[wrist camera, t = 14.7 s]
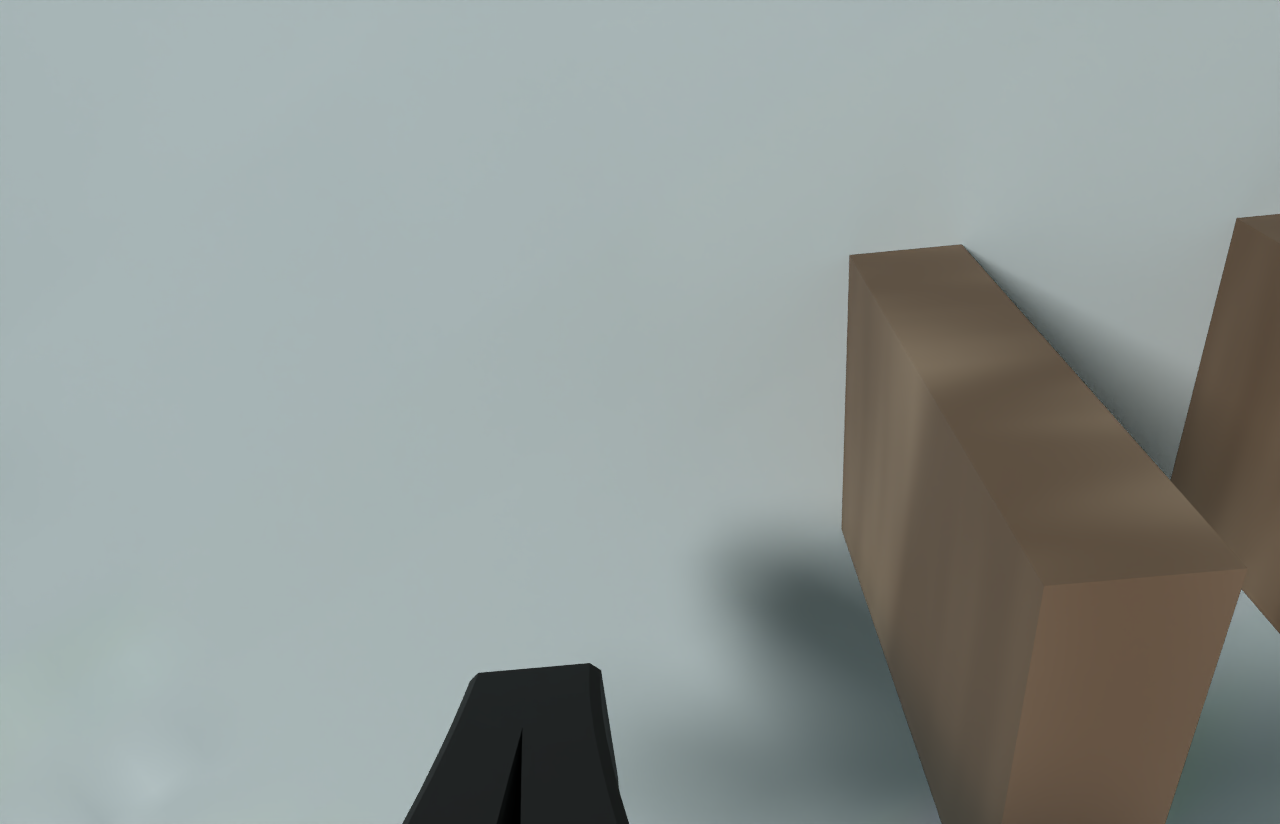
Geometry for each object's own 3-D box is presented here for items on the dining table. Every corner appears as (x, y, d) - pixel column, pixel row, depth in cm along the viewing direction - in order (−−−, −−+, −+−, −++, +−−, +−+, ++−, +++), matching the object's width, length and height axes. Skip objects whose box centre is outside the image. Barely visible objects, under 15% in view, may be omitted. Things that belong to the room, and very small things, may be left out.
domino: (962, 244, 13) (1248, 569, 7) (935, 521, 16) (1131, 926, 10) (850, 254, 13) (1043, 586, 7) (841, 529, 16) (981, 938, 10)
